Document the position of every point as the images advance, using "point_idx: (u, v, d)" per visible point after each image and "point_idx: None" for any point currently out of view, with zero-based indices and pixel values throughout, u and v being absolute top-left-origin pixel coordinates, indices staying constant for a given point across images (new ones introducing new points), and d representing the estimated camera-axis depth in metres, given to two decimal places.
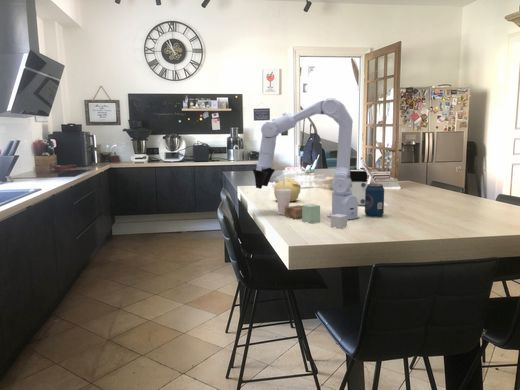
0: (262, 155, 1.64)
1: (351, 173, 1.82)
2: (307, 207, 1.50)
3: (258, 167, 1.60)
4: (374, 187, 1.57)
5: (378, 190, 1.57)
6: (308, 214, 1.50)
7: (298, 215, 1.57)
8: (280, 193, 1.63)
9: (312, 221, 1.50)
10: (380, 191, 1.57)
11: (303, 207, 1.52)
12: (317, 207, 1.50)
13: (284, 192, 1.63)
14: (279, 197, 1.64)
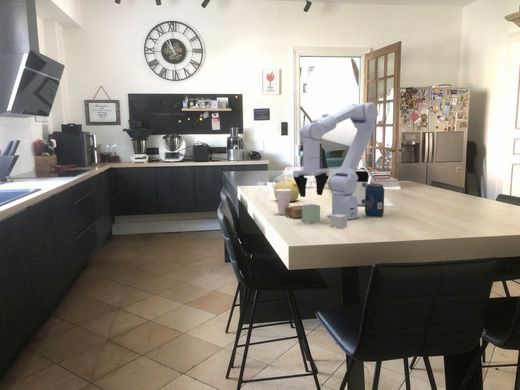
0: None
1: None
2: (307, 207, 1.50)
3: None
4: (374, 187, 1.57)
5: (378, 190, 1.57)
6: (308, 214, 1.50)
7: (297, 215, 1.57)
8: (280, 193, 1.63)
9: (312, 221, 1.50)
10: (380, 191, 1.57)
11: (303, 207, 1.52)
12: (317, 207, 1.50)
13: (284, 192, 1.63)
14: (279, 197, 1.64)
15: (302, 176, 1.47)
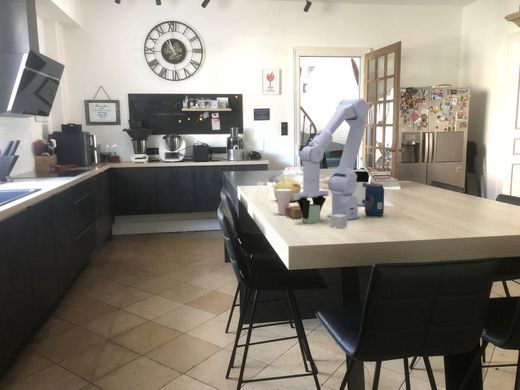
0: None
1: None
2: None
3: None
4: (374, 187, 1.57)
5: (378, 190, 1.57)
6: (308, 214, 1.50)
7: (297, 215, 1.57)
8: (280, 193, 1.63)
9: (312, 221, 1.50)
10: (380, 191, 1.57)
11: None
12: (317, 207, 1.50)
13: (284, 192, 1.63)
14: (279, 197, 1.64)
15: (302, 199, 1.48)
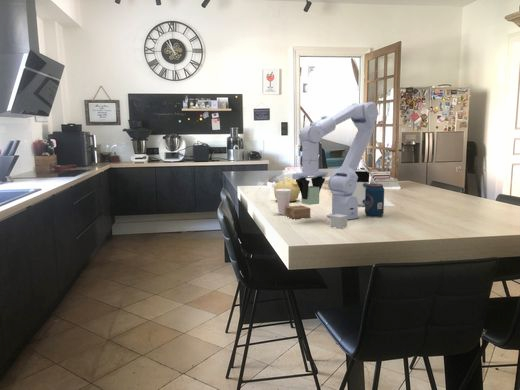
0: None
1: None
2: None
3: None
4: (374, 187, 1.57)
5: (378, 190, 1.57)
6: None
7: (296, 215, 1.57)
8: (280, 193, 1.63)
9: (311, 202, 1.50)
10: (380, 191, 1.57)
11: None
12: (316, 188, 1.50)
13: (284, 192, 1.63)
14: (279, 197, 1.64)
15: (301, 179, 1.48)
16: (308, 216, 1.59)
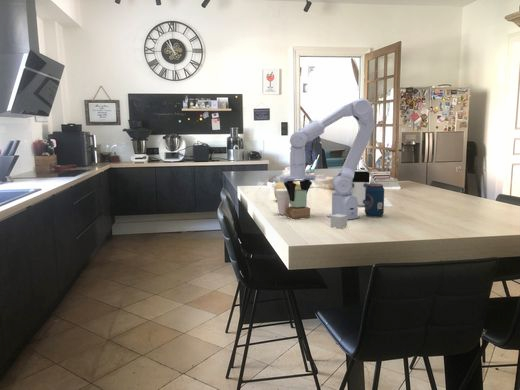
0: None
1: None
2: None
3: None
4: (374, 187, 1.57)
5: (378, 190, 1.57)
6: (295, 198, 1.57)
7: (296, 215, 1.57)
8: (280, 193, 1.63)
9: (298, 205, 1.58)
10: (379, 191, 1.57)
11: None
12: (304, 192, 1.58)
13: (284, 192, 1.63)
14: (279, 197, 1.64)
15: (288, 182, 1.56)
16: (308, 216, 1.59)
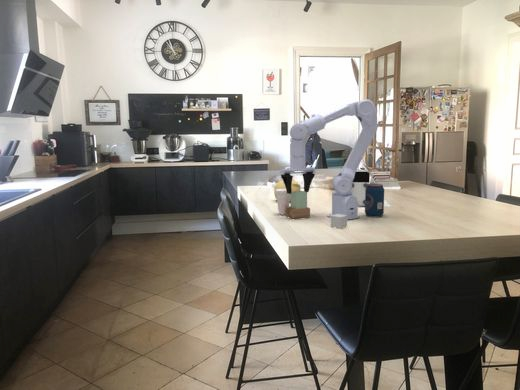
0: None
1: None
2: (294, 193, 1.58)
3: None
4: (374, 187, 1.57)
5: (378, 190, 1.57)
6: (295, 200, 1.57)
7: (296, 215, 1.57)
8: (280, 193, 1.63)
9: (299, 207, 1.58)
10: (380, 191, 1.57)
11: (291, 193, 1.60)
12: (304, 193, 1.58)
13: (284, 192, 1.63)
14: (279, 197, 1.64)
15: (288, 174, 1.56)
16: (308, 216, 1.59)
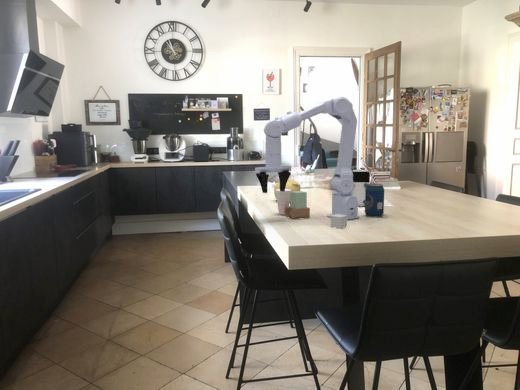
0: None
1: (354, 173, 1.80)
2: (294, 193, 1.58)
3: None
4: (374, 187, 1.57)
5: (378, 190, 1.57)
6: (295, 200, 1.57)
7: (295, 215, 1.57)
8: (280, 193, 1.63)
9: (299, 207, 1.57)
10: (380, 191, 1.57)
11: (290, 193, 1.60)
12: (303, 193, 1.58)
13: (284, 192, 1.63)
14: (279, 197, 1.64)
15: (264, 173, 1.50)
16: (307, 216, 1.59)
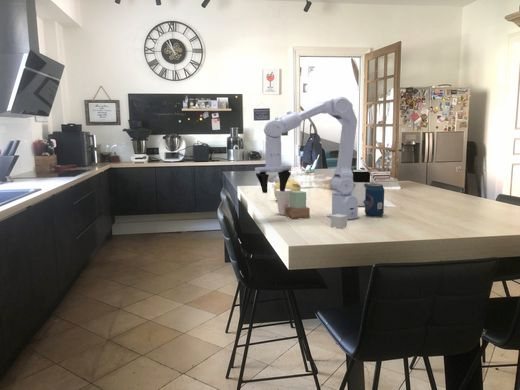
0: None
1: (354, 173, 1.80)
2: (294, 193, 1.58)
3: None
4: (374, 187, 1.57)
5: (378, 190, 1.57)
6: (294, 200, 1.58)
7: (295, 215, 1.57)
8: (280, 193, 1.63)
9: (298, 206, 1.58)
10: (380, 191, 1.57)
11: (290, 193, 1.60)
12: (303, 193, 1.58)
13: (284, 192, 1.63)
14: (279, 197, 1.64)
15: (264, 173, 1.50)
16: (307, 216, 1.59)
